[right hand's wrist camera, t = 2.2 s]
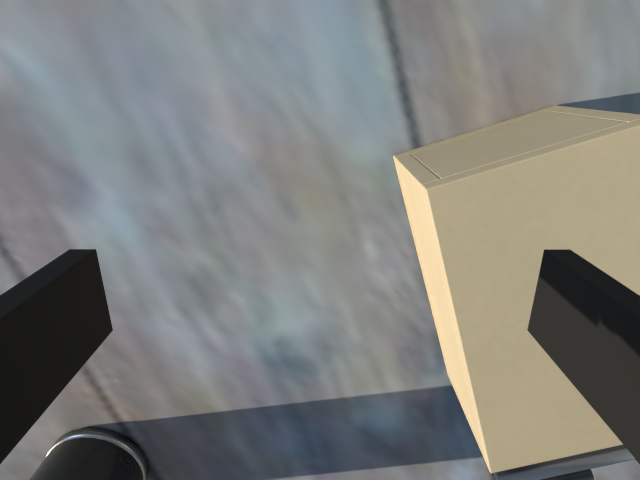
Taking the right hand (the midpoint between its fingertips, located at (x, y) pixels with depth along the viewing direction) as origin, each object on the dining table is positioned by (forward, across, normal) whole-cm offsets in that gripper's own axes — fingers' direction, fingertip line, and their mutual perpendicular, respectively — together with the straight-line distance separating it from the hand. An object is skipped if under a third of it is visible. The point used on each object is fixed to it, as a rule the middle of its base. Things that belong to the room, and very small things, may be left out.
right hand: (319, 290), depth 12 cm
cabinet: (+19, +14, -7) cm, 24 cm away
